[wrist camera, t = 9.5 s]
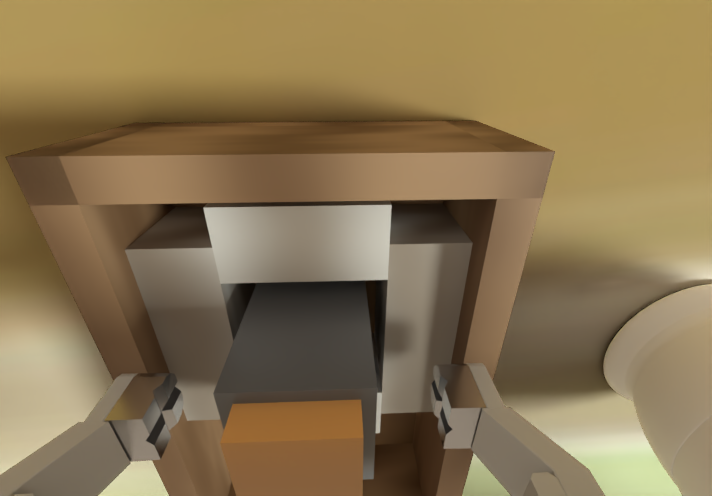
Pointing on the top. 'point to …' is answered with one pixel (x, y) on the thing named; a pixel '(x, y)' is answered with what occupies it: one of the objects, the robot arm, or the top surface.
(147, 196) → the box
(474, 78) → the top surface
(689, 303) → the jar
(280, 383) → the block
